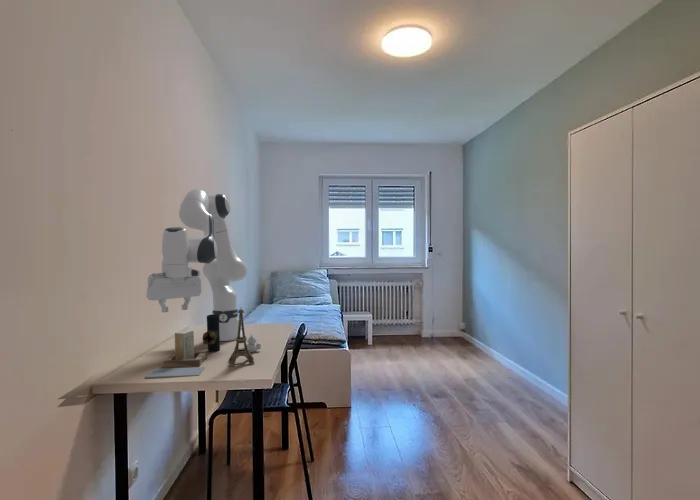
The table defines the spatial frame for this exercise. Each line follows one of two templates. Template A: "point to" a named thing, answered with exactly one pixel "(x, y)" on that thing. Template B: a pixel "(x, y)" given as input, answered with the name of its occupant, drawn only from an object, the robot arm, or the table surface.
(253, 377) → the table surface
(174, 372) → the grey mat
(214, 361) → the table surface
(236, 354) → the eiffel tower
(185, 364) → the walnut socket
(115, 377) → the table surface
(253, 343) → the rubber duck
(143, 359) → the table surface
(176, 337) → the skincare box
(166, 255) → the robot arm
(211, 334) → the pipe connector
